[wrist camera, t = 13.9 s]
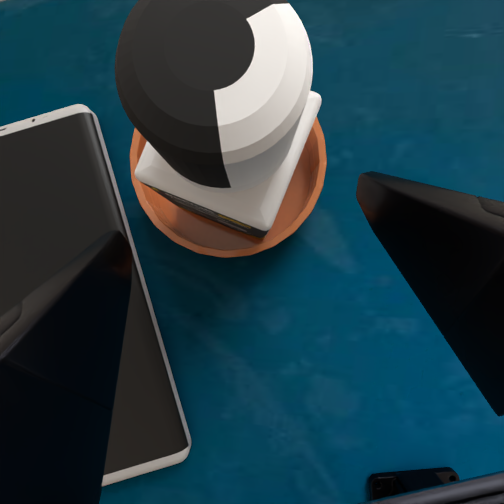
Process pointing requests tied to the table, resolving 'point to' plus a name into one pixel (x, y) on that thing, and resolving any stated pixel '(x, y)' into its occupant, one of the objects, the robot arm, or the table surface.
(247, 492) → the table surface
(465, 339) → the robot arm
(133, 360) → the smartphone
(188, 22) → the medicine bottle
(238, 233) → the dish
